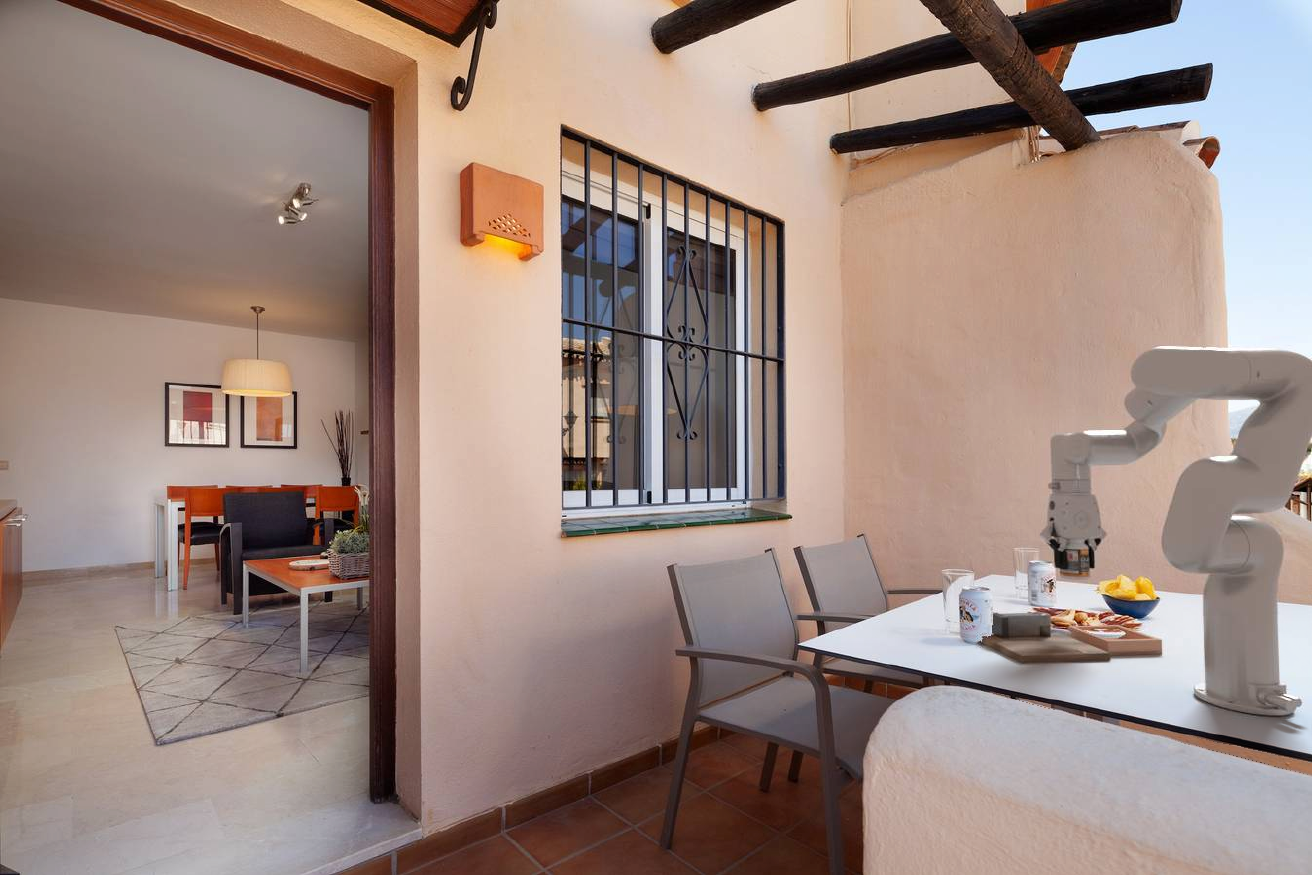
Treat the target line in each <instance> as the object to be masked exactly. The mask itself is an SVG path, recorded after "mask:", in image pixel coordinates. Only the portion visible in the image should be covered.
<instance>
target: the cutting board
mask: <svg viewBox="0 0 1312 875" xmlns="http://www.w3.org/2000/svg"><path fill="white" fill-rule="evenodd" d="M990 634H991V636H988V637H987V636H982V638H983V639H982V643H981V644H984V646H987V647H988V648H991V649H992V650H994V651H997V652H999V653H1001V654H1003V655H1005V656H1006V657H1009V658H1011V659H1013V660H1015V661H1016V662H1019V663H1021V664H1030V663H1032V664H1034V663H1035V664H1037V663H1039V664H1040V663H1041V664H1042V663H1043V664H1044V663H1069V662H1071V663H1073V662H1076V663H1077V662H1100V661H1101V662H1102V661H1103V662H1104V661H1105V662H1106V661H1111V656H1110V653H1109V652H1106V651H1104V650H1101V649H1099V648H1096V647H1094V646H1091V645H1089V644H1086V643H1084V642H1081V641H1078V640H1076V639H1073V638H1071V637H1068V635H1065V634H1063V633H1061V632H1051V636H1009V638H1001V637H999V636H997V635H994V634H992V633H990Z"/></svg>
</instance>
